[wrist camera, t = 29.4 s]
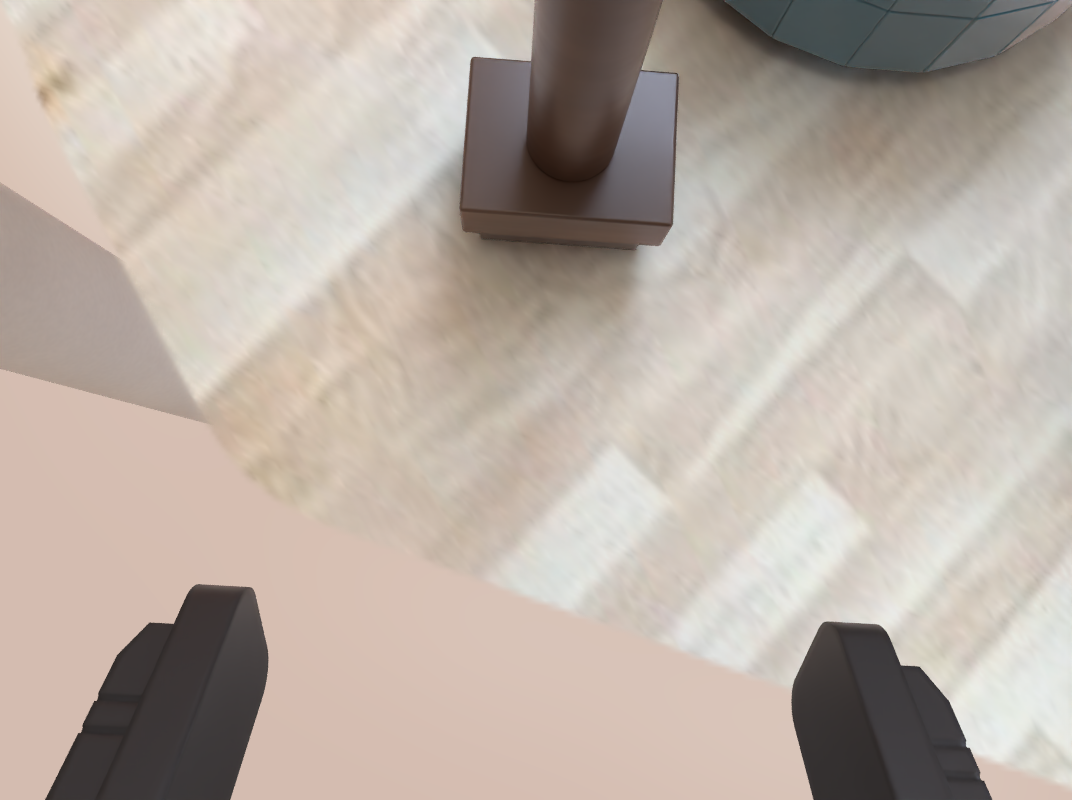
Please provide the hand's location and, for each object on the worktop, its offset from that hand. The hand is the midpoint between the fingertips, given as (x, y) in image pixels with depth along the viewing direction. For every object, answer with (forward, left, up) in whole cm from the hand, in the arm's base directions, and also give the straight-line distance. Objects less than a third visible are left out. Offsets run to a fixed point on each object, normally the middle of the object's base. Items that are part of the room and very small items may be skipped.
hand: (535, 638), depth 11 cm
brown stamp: (+1, +11, -10) cm, 15 cm away
